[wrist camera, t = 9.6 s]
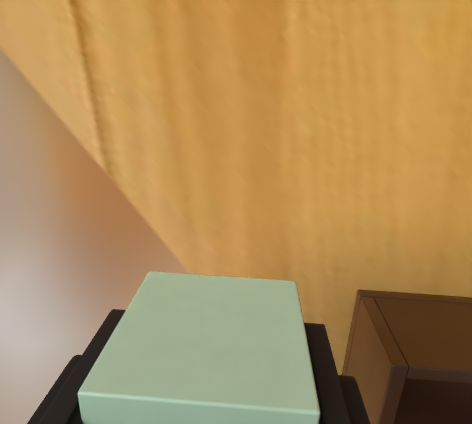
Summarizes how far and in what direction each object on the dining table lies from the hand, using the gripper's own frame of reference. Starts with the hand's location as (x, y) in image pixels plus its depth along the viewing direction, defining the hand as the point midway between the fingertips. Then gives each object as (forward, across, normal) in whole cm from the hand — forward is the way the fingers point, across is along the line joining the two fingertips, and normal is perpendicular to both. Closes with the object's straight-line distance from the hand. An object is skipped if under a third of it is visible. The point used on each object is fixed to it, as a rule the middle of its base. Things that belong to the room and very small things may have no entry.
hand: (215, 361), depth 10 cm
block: (+1, 0, 0) cm, 1 cm away
